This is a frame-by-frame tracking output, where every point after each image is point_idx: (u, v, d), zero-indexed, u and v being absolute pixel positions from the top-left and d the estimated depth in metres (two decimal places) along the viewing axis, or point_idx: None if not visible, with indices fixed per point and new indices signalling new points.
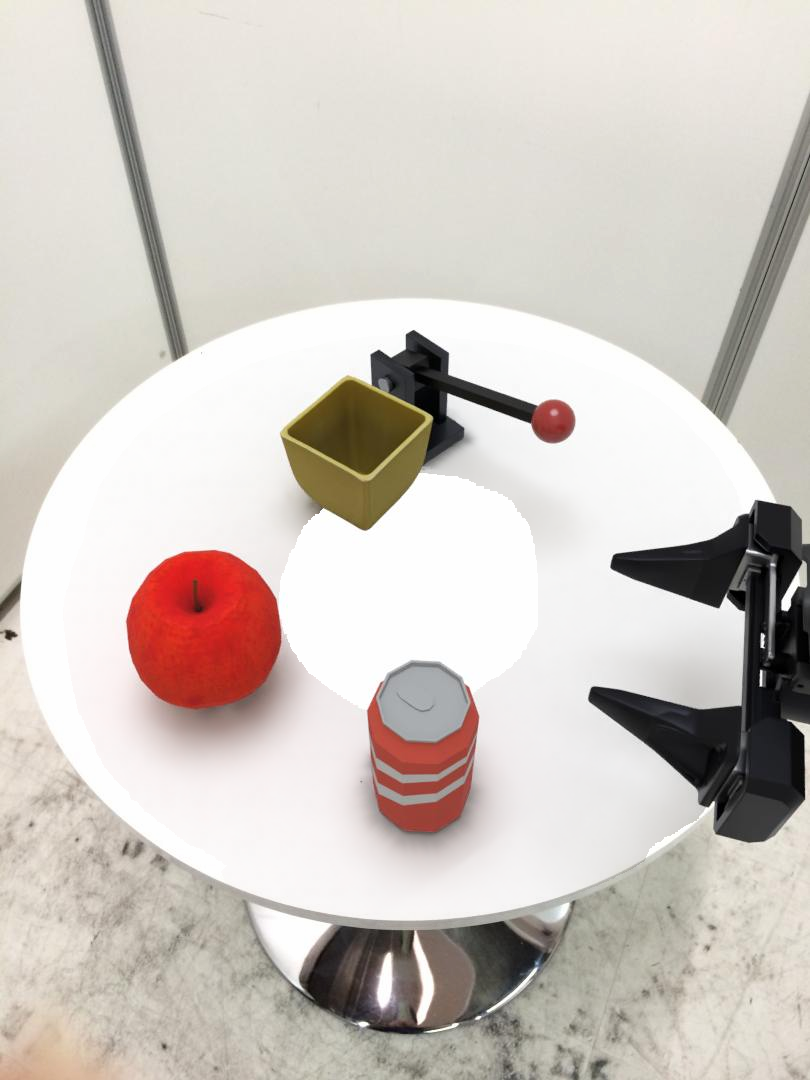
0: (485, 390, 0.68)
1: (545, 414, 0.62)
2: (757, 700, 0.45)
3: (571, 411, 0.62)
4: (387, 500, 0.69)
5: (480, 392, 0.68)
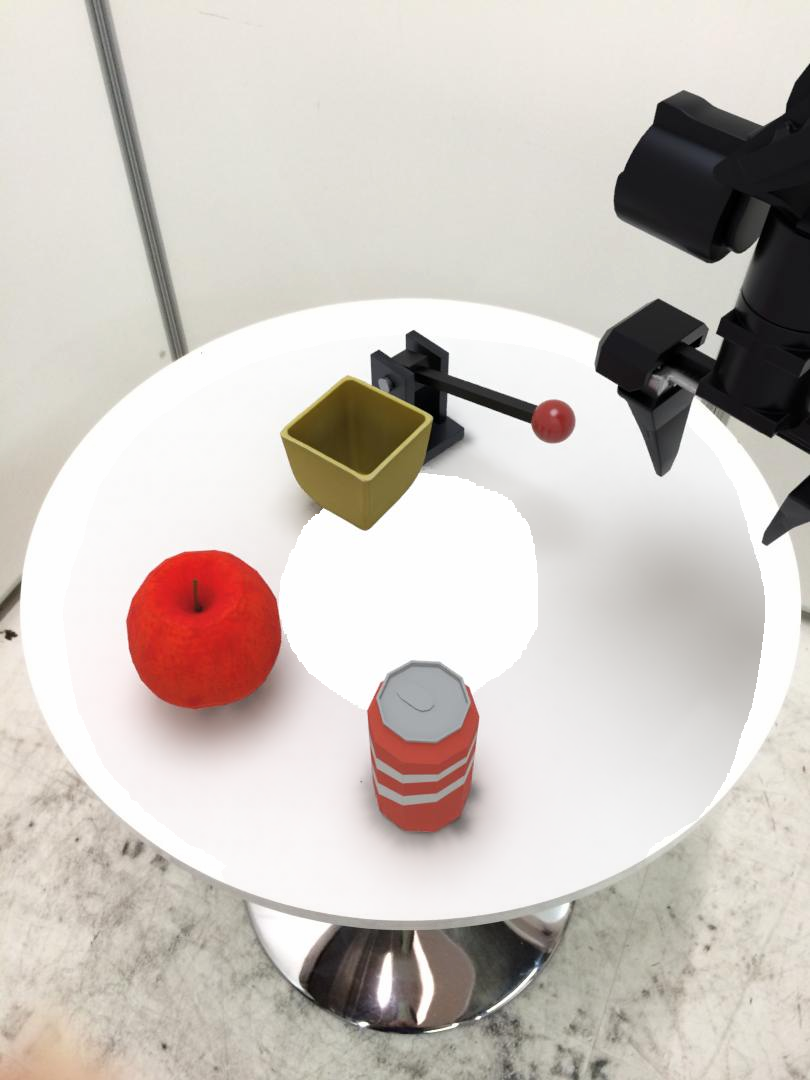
0: (485, 390, 0.68)
1: (545, 414, 0.62)
2: None
3: (571, 411, 0.62)
4: (387, 500, 0.69)
5: (480, 392, 0.68)
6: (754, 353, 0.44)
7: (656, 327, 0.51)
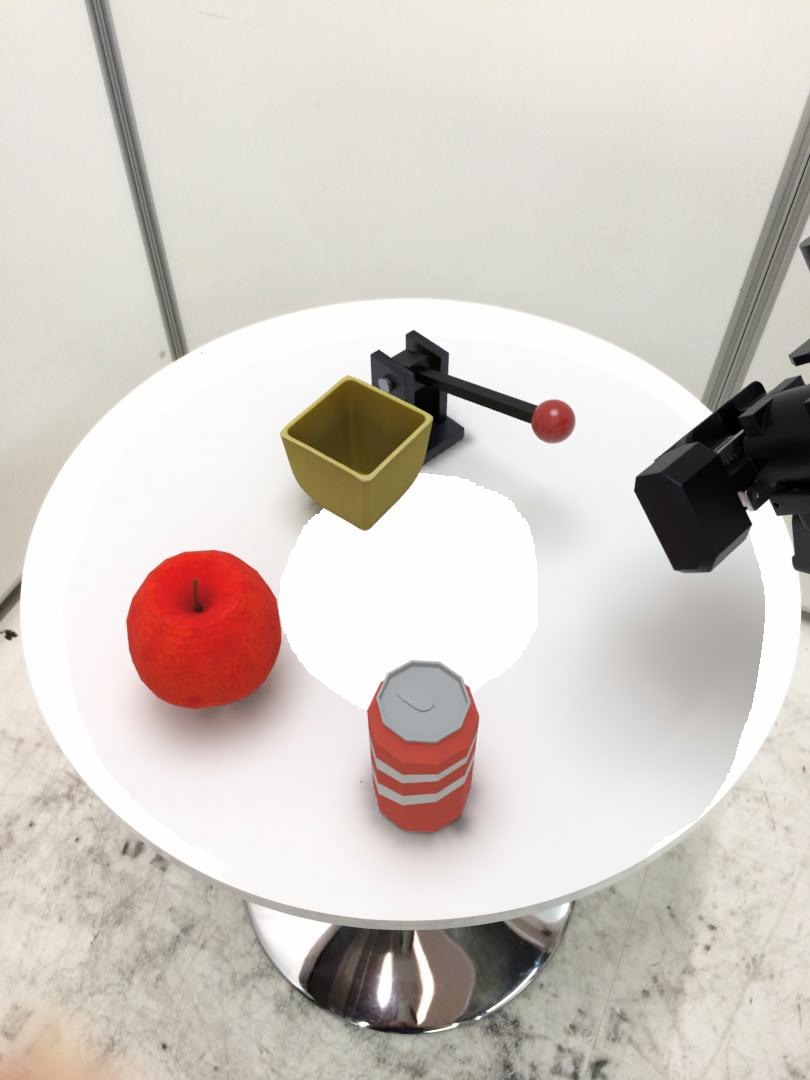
0: (485, 390, 0.68)
1: (545, 414, 0.62)
2: None
3: (571, 411, 0.62)
4: (387, 500, 0.69)
5: (480, 392, 0.68)
6: None
7: None
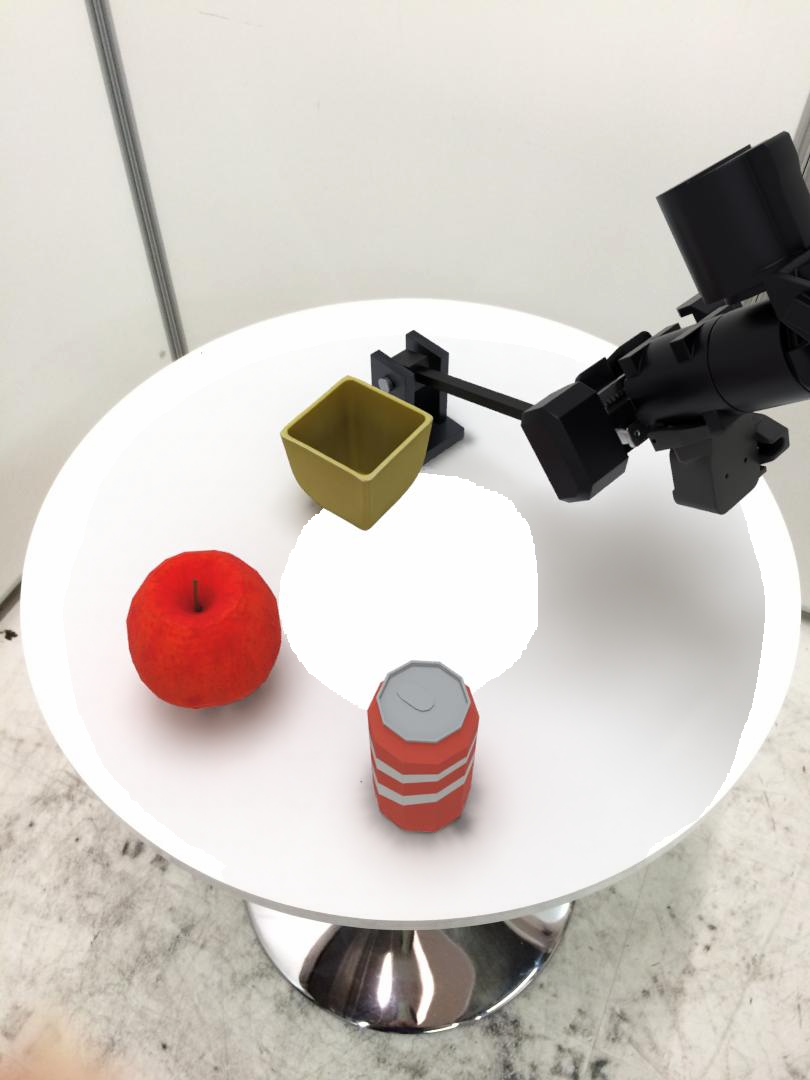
0: (485, 390, 0.68)
1: None
2: None
3: None
4: (387, 500, 0.69)
5: (480, 392, 0.68)
6: (696, 323, 0.49)
7: None
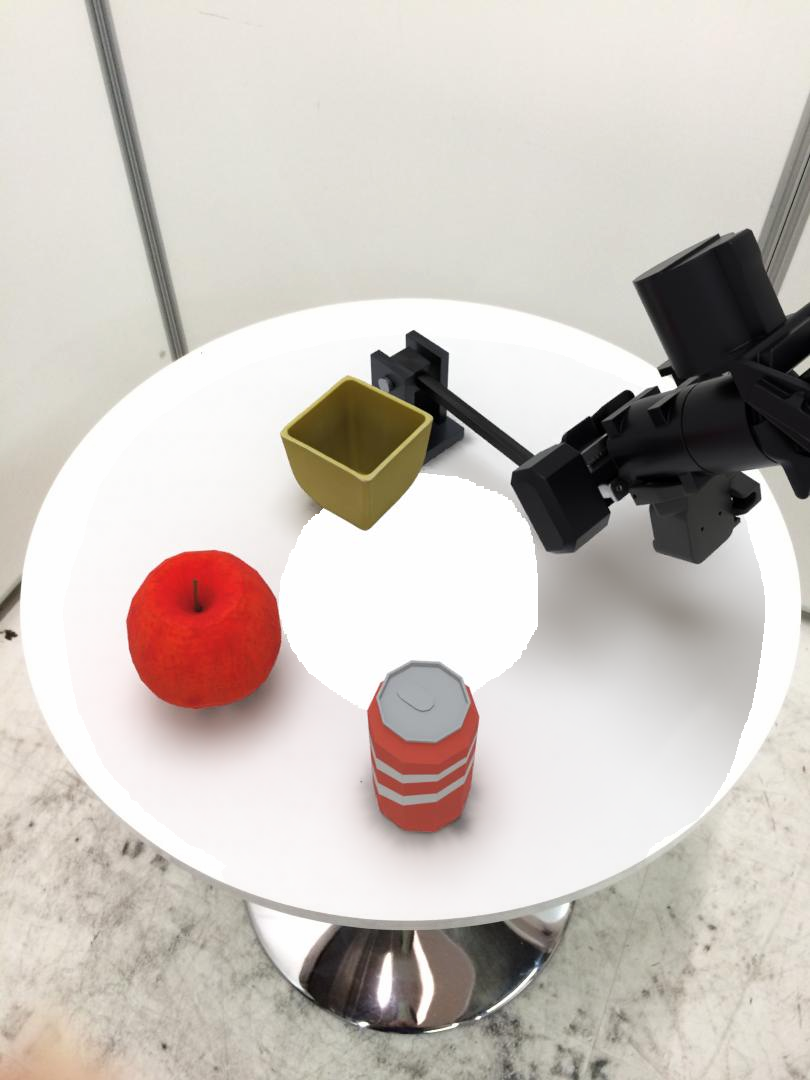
0: (487, 423, 0.70)
1: None
2: None
3: None
4: (387, 500, 0.69)
5: (482, 424, 0.70)
6: (672, 391, 0.53)
7: None
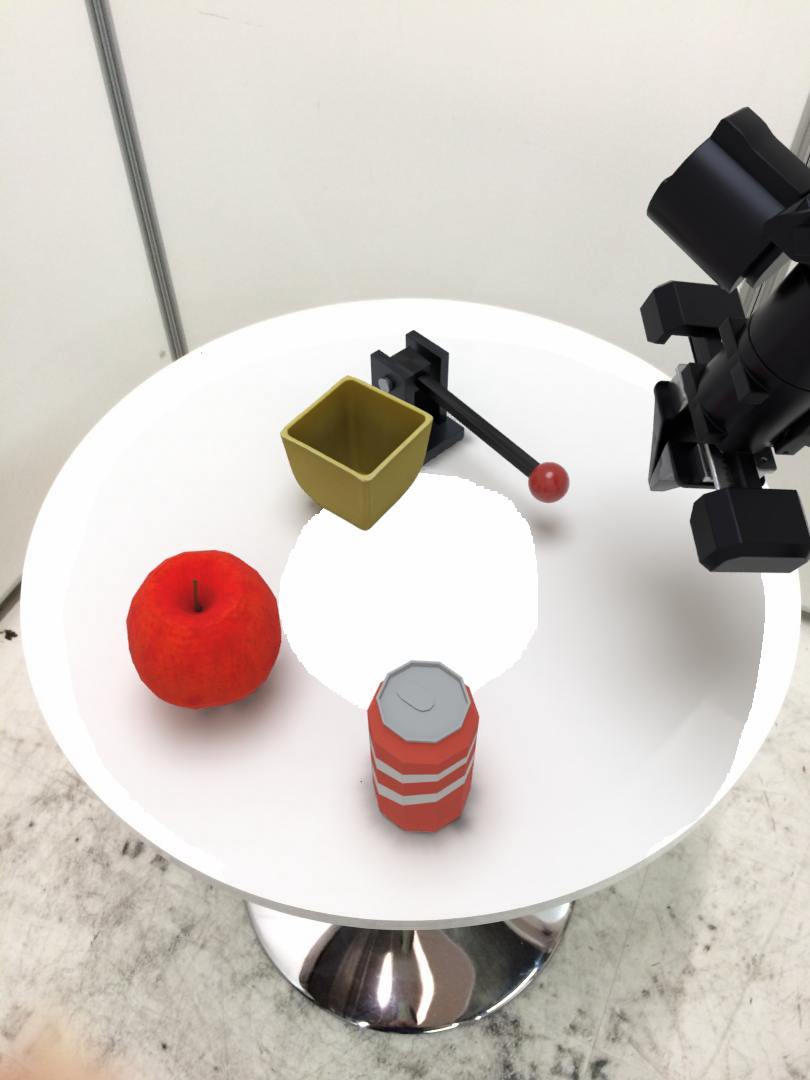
0: (487, 425, 0.70)
1: (545, 480, 0.66)
2: None
3: (568, 479, 0.67)
4: (387, 500, 0.69)
5: (482, 427, 0.70)
6: (728, 362, 0.46)
7: (707, 305, 0.53)
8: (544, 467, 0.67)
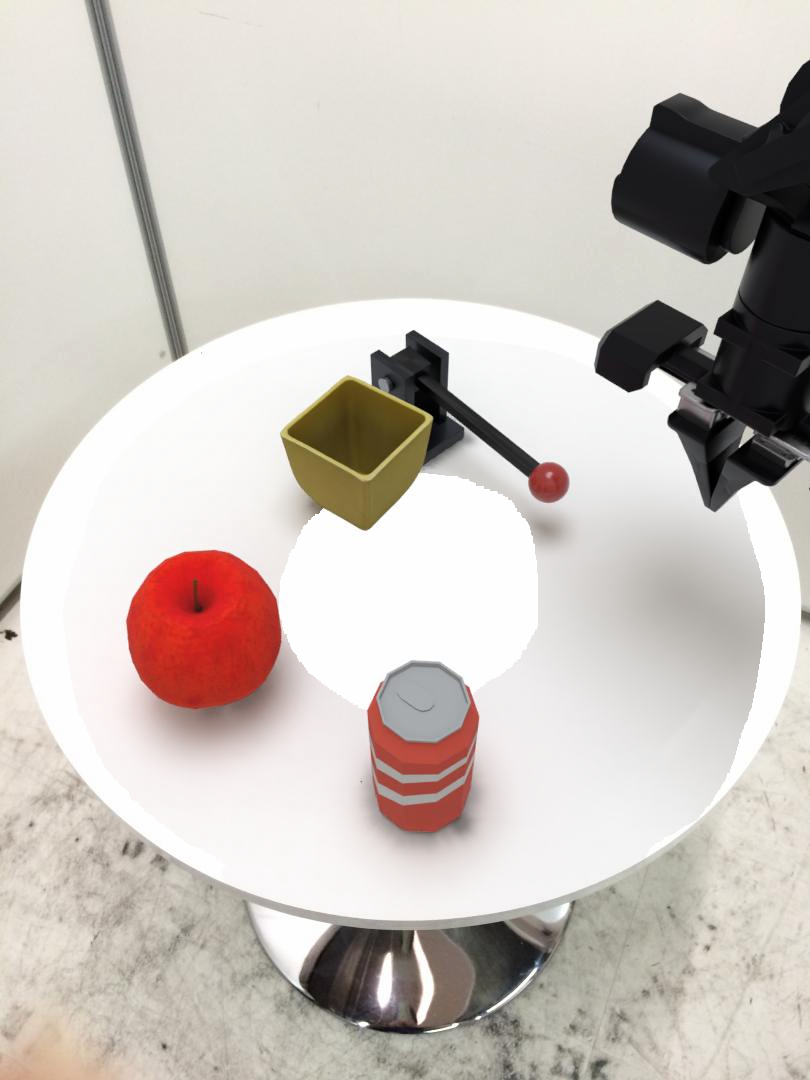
0: (487, 425, 0.70)
1: (545, 480, 0.66)
2: None
3: (568, 479, 0.67)
4: (387, 500, 0.69)
5: (482, 427, 0.70)
6: (751, 352, 0.44)
7: (655, 328, 0.51)
8: (544, 467, 0.67)
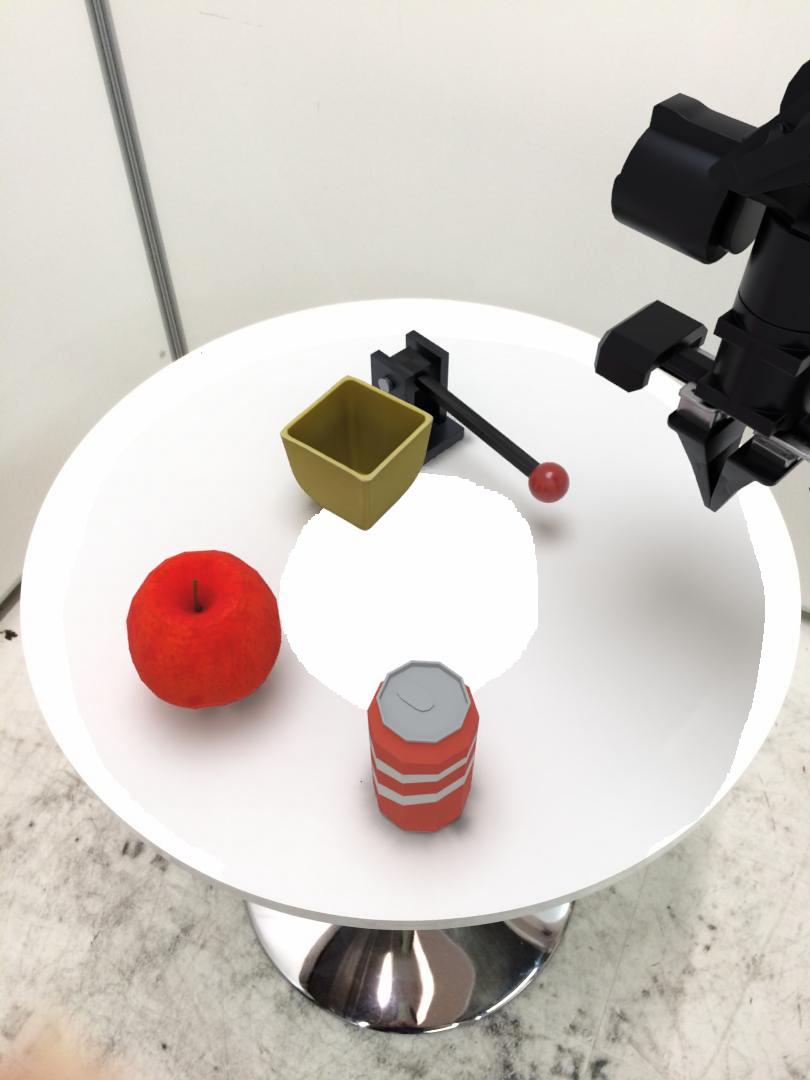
0: (487, 425, 0.70)
1: (545, 480, 0.66)
2: None
3: (568, 479, 0.67)
4: (387, 500, 0.69)
5: (482, 427, 0.70)
6: (751, 352, 0.44)
7: (655, 328, 0.51)
8: (544, 467, 0.67)
